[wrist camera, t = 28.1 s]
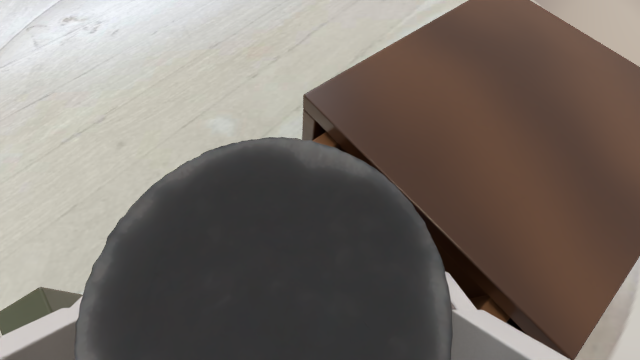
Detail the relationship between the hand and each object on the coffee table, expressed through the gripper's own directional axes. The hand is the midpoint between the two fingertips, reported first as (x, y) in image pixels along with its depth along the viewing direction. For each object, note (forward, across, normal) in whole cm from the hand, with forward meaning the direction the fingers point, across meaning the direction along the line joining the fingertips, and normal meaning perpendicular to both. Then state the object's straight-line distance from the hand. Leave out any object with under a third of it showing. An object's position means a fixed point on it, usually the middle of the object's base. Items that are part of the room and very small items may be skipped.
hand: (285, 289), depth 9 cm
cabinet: (+12, -9, +2) cm, 15 cm away
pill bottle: (+4, 0, +5) cm, 6 cm away
